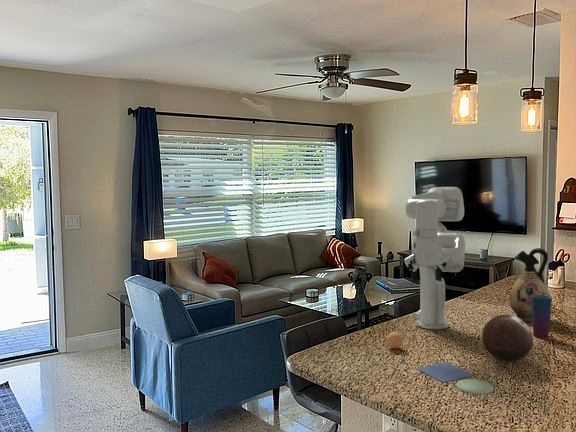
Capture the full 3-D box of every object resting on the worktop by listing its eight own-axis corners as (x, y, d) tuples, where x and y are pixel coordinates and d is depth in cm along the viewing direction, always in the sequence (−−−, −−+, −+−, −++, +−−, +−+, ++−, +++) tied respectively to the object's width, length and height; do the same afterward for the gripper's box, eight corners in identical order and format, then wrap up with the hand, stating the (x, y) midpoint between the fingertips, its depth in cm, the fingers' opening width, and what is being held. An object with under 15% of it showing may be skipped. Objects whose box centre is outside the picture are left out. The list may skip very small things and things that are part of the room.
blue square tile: (416, 369, 158) (416, 368, 158) (446, 362, 163) (446, 362, 163) (443, 383, 147) (443, 382, 147) (474, 375, 152) (474, 374, 152)
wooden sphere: (535, 372, 153) (536, 323, 152) (482, 366, 159) (482, 319, 157) (530, 355, 167) (530, 311, 166) (481, 351, 173) (482, 308, 172)
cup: (553, 339, 183) (554, 299, 182) (533, 338, 184) (534, 298, 183) (547, 334, 190) (548, 294, 188) (528, 333, 191) (529, 294, 190)
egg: (383, 347, 179) (383, 331, 178) (396, 344, 181) (396, 329, 181) (393, 351, 174) (393, 335, 173) (406, 349, 176) (406, 333, 175)
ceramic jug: (509, 322, 205) (510, 249, 203) (508, 312, 219) (509, 244, 217) (556, 326, 199) (558, 251, 197) (552, 316, 213) (554, 245, 211)
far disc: (448, 383, 146) (448, 382, 146) (474, 377, 150) (474, 376, 150) (474, 396, 137) (474, 396, 137) (501, 389, 141) (501, 388, 141)
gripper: (409, 236, 177) (409, 284, 177) (453, 234, 181) (453, 281, 182) (400, 234, 184) (399, 280, 185) (442, 232, 188) (442, 278, 189)
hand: (426, 281), depth 183 cm, fingers open, 9 cm apart
